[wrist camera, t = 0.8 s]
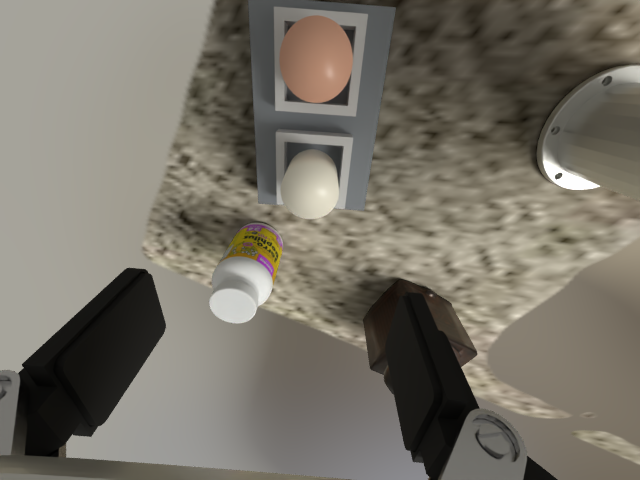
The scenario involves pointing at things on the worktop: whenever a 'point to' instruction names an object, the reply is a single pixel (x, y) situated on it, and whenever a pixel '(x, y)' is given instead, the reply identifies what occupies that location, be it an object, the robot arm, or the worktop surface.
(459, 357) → the dark brown coffee grinder
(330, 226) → the worktop surface
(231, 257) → the supplement bottle
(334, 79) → the brown egg
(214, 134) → the worktop surface
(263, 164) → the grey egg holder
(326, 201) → the knob cream
